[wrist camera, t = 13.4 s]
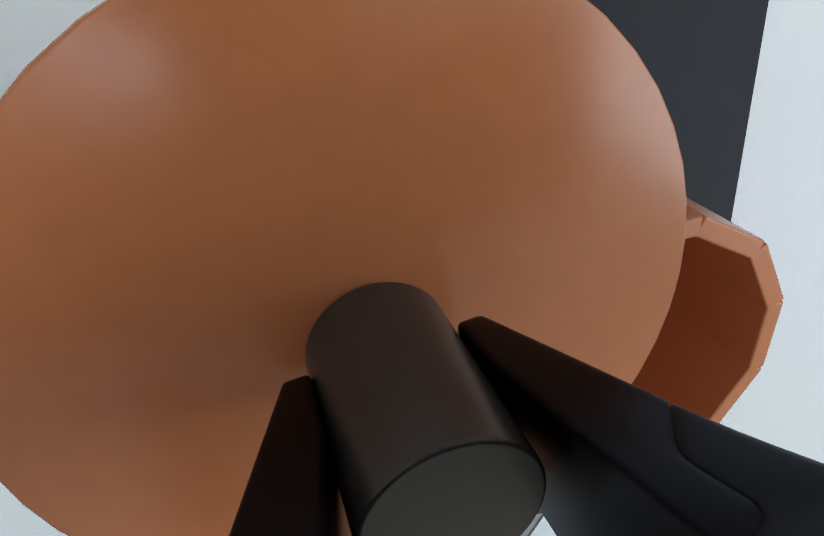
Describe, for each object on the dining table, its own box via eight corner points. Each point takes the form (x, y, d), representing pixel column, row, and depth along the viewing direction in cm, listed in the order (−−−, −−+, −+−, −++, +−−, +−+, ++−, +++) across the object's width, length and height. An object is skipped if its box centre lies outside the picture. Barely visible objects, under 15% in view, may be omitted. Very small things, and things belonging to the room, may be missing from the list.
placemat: (339, 537, 28) (340, 543, 28) (139, -6, 15) (138, -5, 15) (695, 400, 32) (699, 404, 31) (783, -131, 19) (791, -132, 18)
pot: (477, 96, 19) (602, 171, 13) (679, 186, 23) (838, 272, 18) (273, 528, 26) (296, 701, 20) (460, 533, 30) (522, 675, 25)
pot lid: (154, 639, 12) (139, 900, 9) (-327, 47, 6) (-1016, 202, 2) (650, 438, 14) (785, 588, 11) (701, -155, 8) (1063, -216, 5)
